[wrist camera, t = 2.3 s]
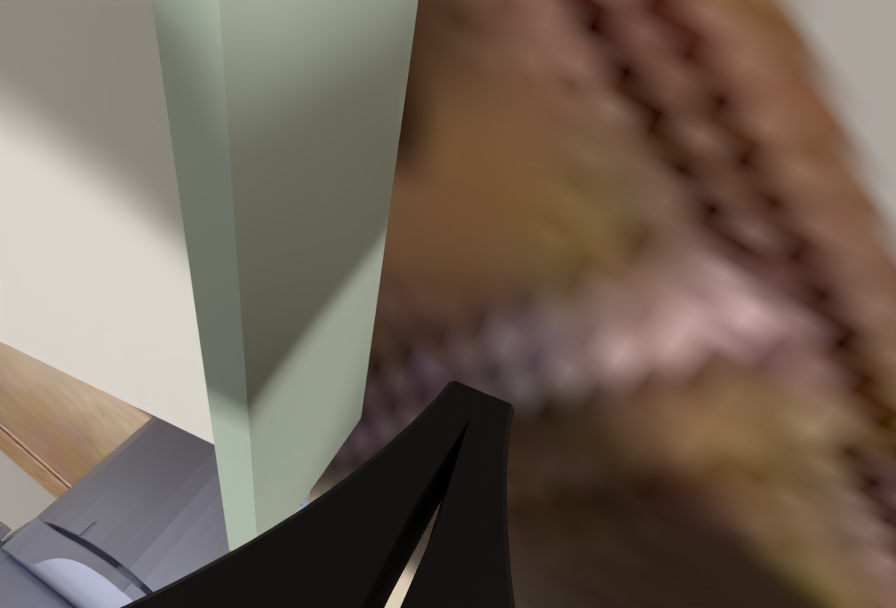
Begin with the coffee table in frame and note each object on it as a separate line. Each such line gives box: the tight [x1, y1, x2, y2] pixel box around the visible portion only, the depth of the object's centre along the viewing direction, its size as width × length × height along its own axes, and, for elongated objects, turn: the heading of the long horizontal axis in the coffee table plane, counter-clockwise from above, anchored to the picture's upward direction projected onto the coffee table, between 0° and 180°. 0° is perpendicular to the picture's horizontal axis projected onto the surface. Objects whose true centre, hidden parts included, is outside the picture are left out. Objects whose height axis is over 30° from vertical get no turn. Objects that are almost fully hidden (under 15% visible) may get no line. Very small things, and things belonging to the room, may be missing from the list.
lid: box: [0, 0, 418, 551], centre depth 14 cm, size 14×20×6 cm
